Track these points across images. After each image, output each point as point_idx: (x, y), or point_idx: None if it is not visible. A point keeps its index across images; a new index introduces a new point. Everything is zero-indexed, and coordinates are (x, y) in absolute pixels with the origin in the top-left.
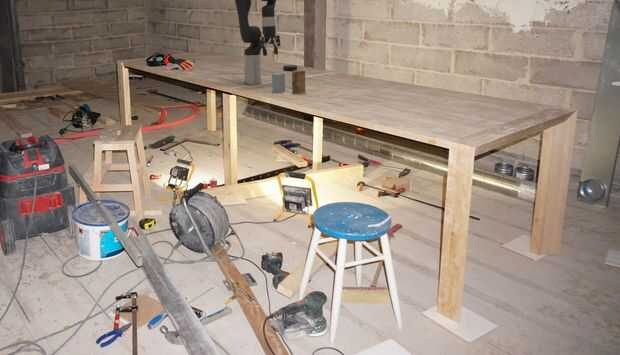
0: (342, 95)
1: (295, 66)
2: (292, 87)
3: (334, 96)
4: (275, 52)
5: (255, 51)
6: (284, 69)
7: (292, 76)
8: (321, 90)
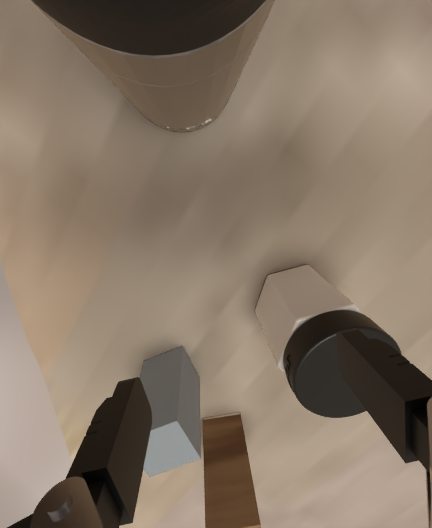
0: (313, 510)
1: (356, 413)
2: (203, 441)
3: (282, 511)
4: (351, 370)
5: (109, 13)
6: (285, 367)
7: (205, 499)
8: (331, 425)
